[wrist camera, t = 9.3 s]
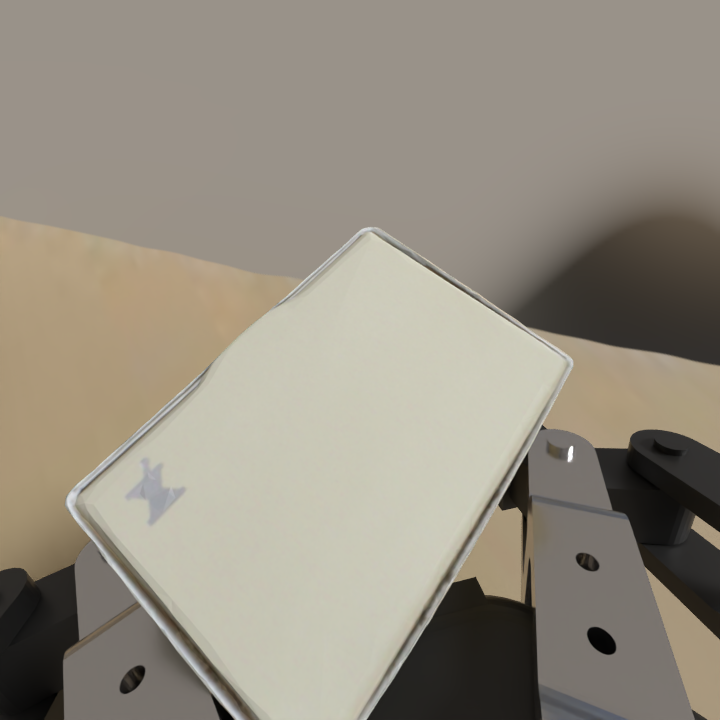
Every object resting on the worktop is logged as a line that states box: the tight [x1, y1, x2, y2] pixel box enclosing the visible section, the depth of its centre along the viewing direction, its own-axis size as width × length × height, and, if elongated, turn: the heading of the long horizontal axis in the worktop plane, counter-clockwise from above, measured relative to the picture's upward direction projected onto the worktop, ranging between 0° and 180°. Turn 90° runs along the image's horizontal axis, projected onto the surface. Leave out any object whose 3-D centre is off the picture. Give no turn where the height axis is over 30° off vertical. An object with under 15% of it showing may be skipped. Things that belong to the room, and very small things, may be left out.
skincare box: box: [65, 227, 573, 720], centre depth 10 cm, size 6×4×12 cm
